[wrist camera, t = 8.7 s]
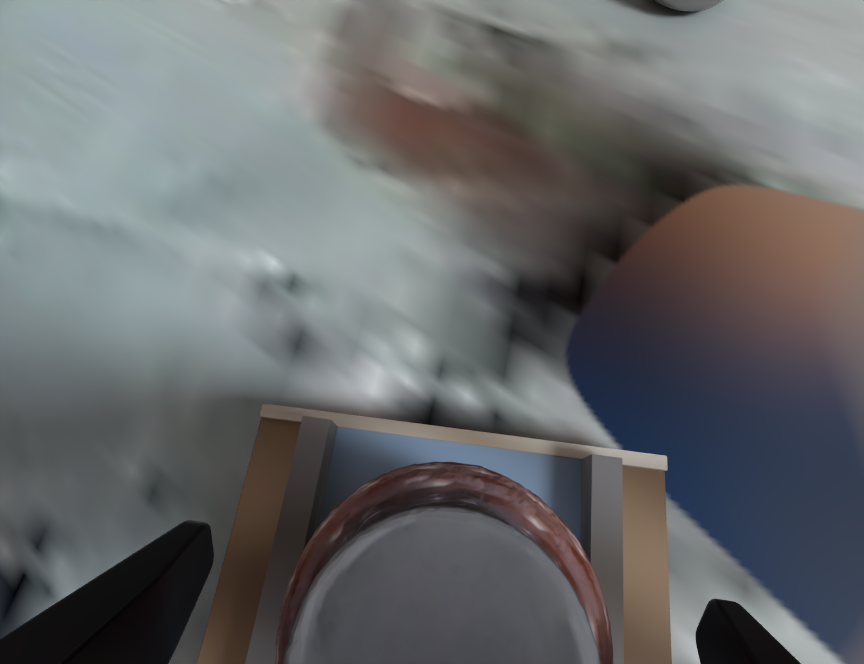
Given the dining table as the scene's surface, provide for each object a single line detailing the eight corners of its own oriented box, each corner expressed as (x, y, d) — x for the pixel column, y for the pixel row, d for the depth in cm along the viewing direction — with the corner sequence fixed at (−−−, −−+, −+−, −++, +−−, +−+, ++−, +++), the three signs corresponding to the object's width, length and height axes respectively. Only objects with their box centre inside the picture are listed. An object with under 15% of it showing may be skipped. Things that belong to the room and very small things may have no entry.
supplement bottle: (537, 500, 17) (682, 454, 7) (532, 704, 15) (737, 1097, 5) (368, 482, 18) (261, 412, 7) (340, 680, 15) (126, 996, 5)
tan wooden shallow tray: (646, 884, 16) (710, 995, 12) (190, 800, 17) (117, 879, 13) (638, 465, 20) (682, 450, 17) (284, 418, 21) (251, 394, 18)
